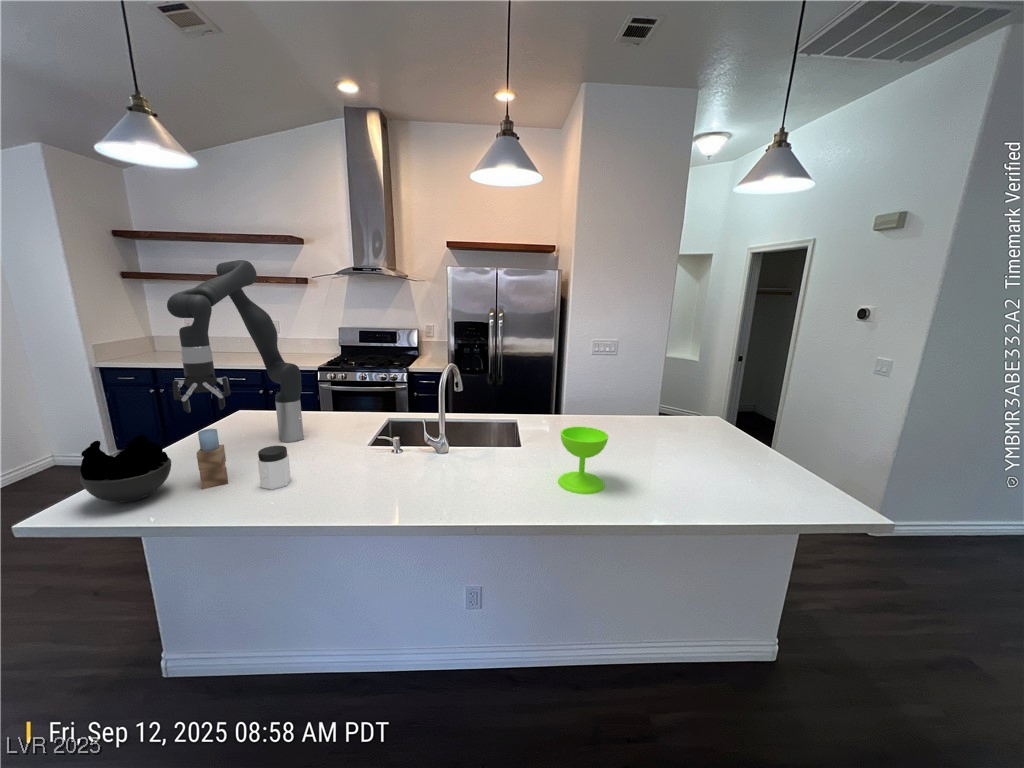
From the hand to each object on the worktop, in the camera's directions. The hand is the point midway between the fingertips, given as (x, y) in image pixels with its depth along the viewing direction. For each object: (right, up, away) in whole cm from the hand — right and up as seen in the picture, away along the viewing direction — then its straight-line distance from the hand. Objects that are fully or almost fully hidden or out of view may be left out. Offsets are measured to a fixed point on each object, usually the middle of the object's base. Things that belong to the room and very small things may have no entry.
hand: (205, 410), depth 131 cm
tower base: (-1, -24, +5) cm, 25 cm away
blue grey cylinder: (-1, -13, +3) cm, 13 cm away
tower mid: (-1, -18, +4) cm, 19 cm away
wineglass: (+122, -26, +12) cm, 125 cm away
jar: (+19, -25, +6) cm, 32 cm away
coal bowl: (-17, -27, -6) cm, 32 cm away
